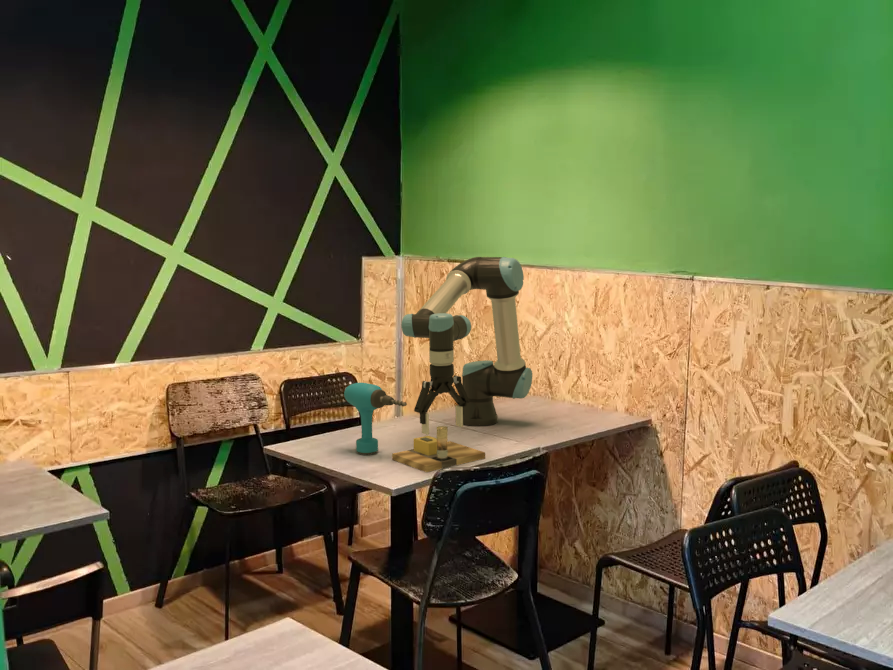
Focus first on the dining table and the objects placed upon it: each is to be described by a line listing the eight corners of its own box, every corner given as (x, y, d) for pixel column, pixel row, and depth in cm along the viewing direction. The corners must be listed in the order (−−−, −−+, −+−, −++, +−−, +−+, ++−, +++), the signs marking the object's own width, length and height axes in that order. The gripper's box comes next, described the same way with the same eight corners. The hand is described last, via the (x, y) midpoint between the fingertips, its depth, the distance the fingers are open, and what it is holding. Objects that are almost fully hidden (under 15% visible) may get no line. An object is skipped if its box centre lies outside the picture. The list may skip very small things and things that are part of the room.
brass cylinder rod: (434, 464, 268) (434, 427, 267) (443, 462, 271) (442, 425, 269) (441, 466, 266) (441, 429, 264) (449, 464, 268) (449, 427, 266)
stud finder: (413, 450, 277) (413, 437, 276) (428, 447, 281) (428, 434, 280) (428, 455, 271) (428, 442, 270) (443, 452, 275) (443, 439, 274)
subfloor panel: (392, 459, 274) (392, 453, 274) (450, 446, 289) (450, 441, 288) (426, 472, 260) (426, 466, 260) (485, 458, 275) (485, 452, 275)
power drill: (416, 460, 273) (415, 389, 270) (396, 466, 266) (396, 393, 263) (358, 445, 292) (356, 378, 288) (338, 450, 285) (337, 382, 282)
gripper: (416, 370, 253) (418, 439, 256) (479, 360, 269) (480, 425, 272) (402, 367, 259) (403, 434, 262) (464, 356, 274) (465, 420, 278)
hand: (442, 429), depth 267 cm, fingers open, 13 cm apart
